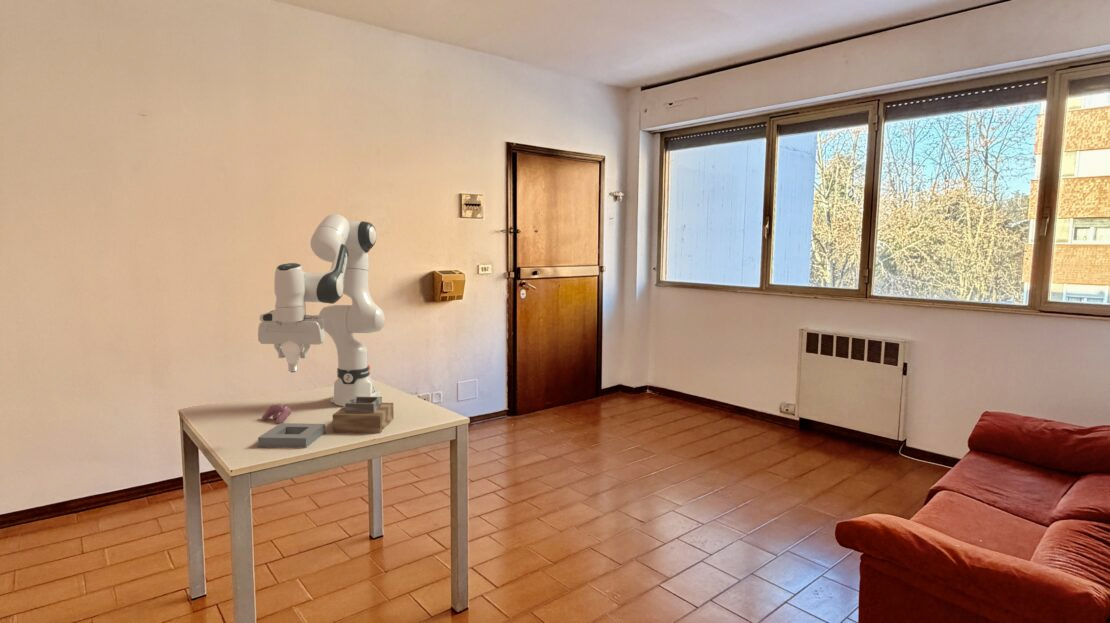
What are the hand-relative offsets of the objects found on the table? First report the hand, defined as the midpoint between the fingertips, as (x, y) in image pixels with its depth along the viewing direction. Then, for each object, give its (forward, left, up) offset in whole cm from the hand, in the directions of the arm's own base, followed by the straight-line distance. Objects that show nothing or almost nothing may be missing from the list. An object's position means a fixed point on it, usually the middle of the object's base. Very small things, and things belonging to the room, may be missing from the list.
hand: (292, 357), depth 192 cm
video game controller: (-20, -15, -27) cm, 37 cm away
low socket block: (+1, -1, -27) cm, 27 cm away
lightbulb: (0, 0, -5) cm, 5 cm away
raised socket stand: (-15, +17, -27) cm, 35 cm away
